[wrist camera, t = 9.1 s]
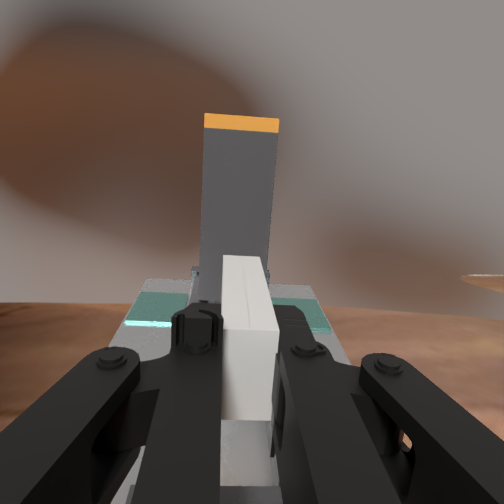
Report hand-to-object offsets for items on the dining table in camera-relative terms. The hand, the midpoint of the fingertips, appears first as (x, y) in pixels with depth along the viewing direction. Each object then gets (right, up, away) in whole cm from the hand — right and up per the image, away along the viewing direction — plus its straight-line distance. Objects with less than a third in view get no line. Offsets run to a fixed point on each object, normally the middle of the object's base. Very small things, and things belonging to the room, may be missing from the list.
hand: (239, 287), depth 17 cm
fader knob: (-1, -2, +12) cm, 13 cm away
